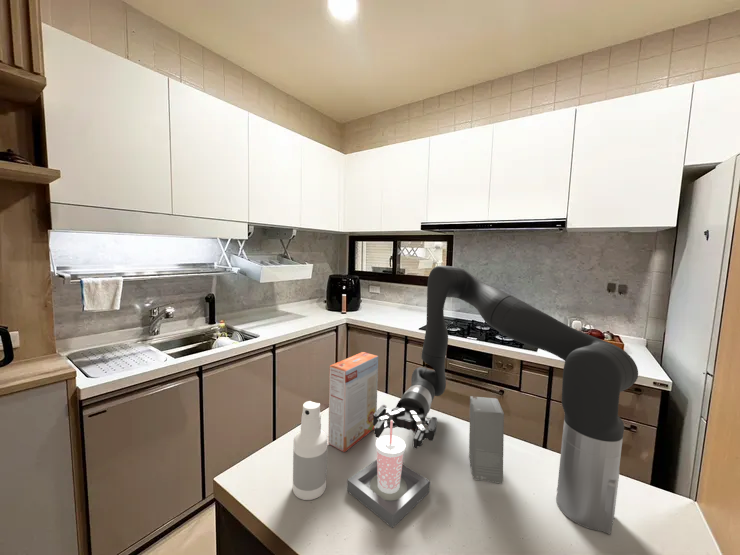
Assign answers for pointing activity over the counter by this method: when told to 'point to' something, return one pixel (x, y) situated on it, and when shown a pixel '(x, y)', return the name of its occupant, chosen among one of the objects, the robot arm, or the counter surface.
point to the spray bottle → (310, 455)
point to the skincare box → (486, 439)
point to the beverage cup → (389, 461)
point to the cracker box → (352, 399)
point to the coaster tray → (386, 504)
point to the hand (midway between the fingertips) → (395, 438)
